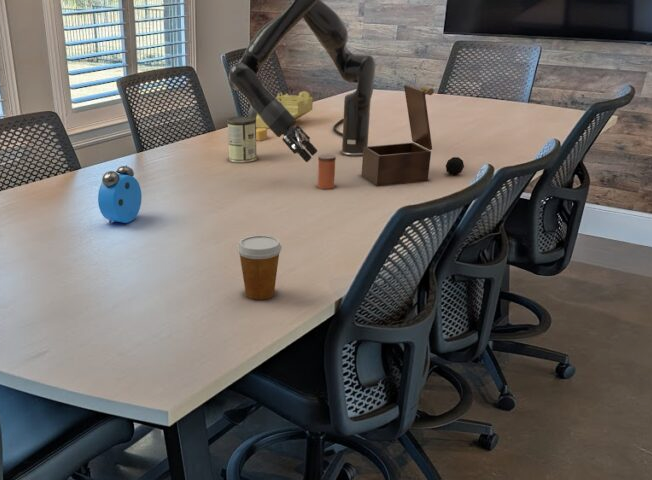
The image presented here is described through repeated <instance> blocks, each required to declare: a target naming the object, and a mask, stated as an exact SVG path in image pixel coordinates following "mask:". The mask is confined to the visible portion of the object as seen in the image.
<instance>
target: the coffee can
mask: <svg viewBox="0 0 652 480" xmlns="http://www.w3.org/2000/svg"><path fill="white" fill-rule="evenodd" d="M226 122H227V137H228V139H227V140H228V160H229V162H232V163H238V164H239V163H240V164H241V163H251V162H254V161H256V160H257V159H258V158H257V140H256V118H254V117H249V115H247V116H246V115H245V116H242V115H241V116H233V117H230V118H227V121H226Z"/></svg>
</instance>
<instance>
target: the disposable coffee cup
mask: <svg viewBox="0 0 652 480" xmlns="http://www.w3.org/2000/svg"><path fill="white" fill-rule="evenodd" d="M282 247H283V246H282V245H281V242H280V240H279V239H278V238H276V237H273V236H270V235H251V236H245V237H244V238H242V239H240V240H239V242H238V246H237V248H236V250H237V252H238V255H239V258H240V259H239V260H240V267H241V272H242V278H243V283H244V284H243V285H244V291H245V296H246V297H247V298H249V299H252V300H256V301H257V300H267V299H271V298H272V297H274V295H275V288H276V281H277V273H278V267H279V259H280V253H281V251H282Z"/></svg>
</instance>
